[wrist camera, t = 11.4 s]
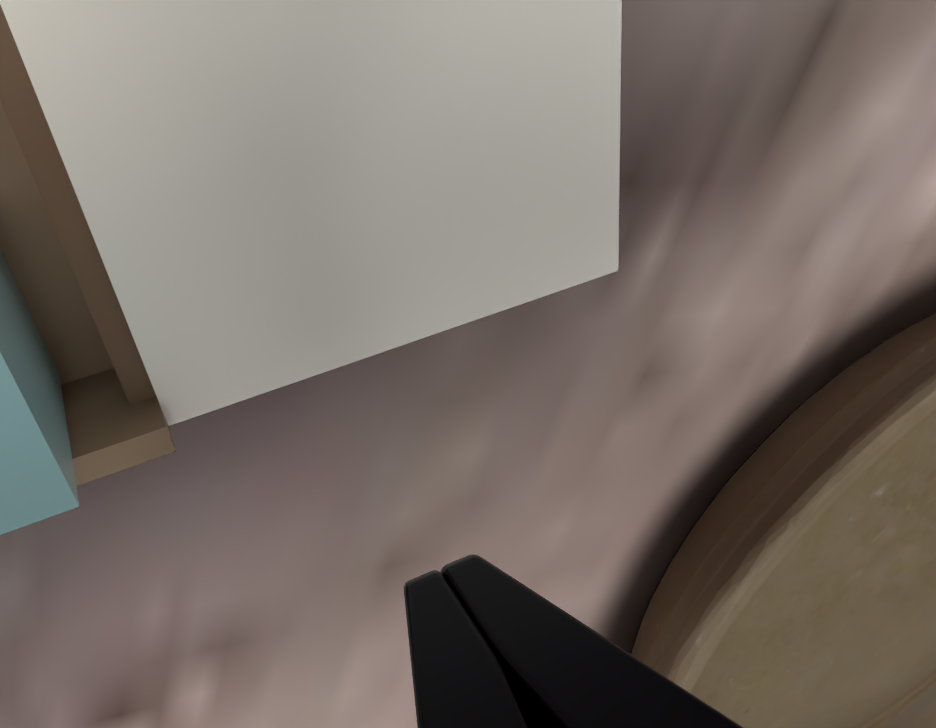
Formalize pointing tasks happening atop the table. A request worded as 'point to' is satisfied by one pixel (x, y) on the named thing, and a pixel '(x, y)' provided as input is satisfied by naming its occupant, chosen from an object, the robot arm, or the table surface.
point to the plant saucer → (818, 562)
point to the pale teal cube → (30, 419)
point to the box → (70, 290)
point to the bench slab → (327, 170)
